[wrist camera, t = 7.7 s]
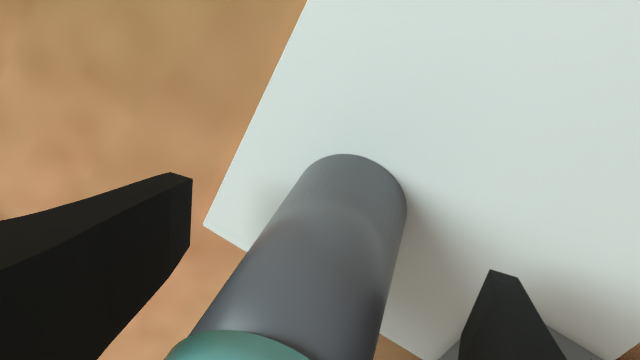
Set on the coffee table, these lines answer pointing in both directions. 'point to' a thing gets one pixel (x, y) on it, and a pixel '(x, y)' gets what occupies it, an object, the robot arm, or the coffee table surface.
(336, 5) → the paper
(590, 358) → the picture frame
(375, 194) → the grey teal-capped tube
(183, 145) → the coffee table surface
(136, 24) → the coffee table surface
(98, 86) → the coffee table surface
